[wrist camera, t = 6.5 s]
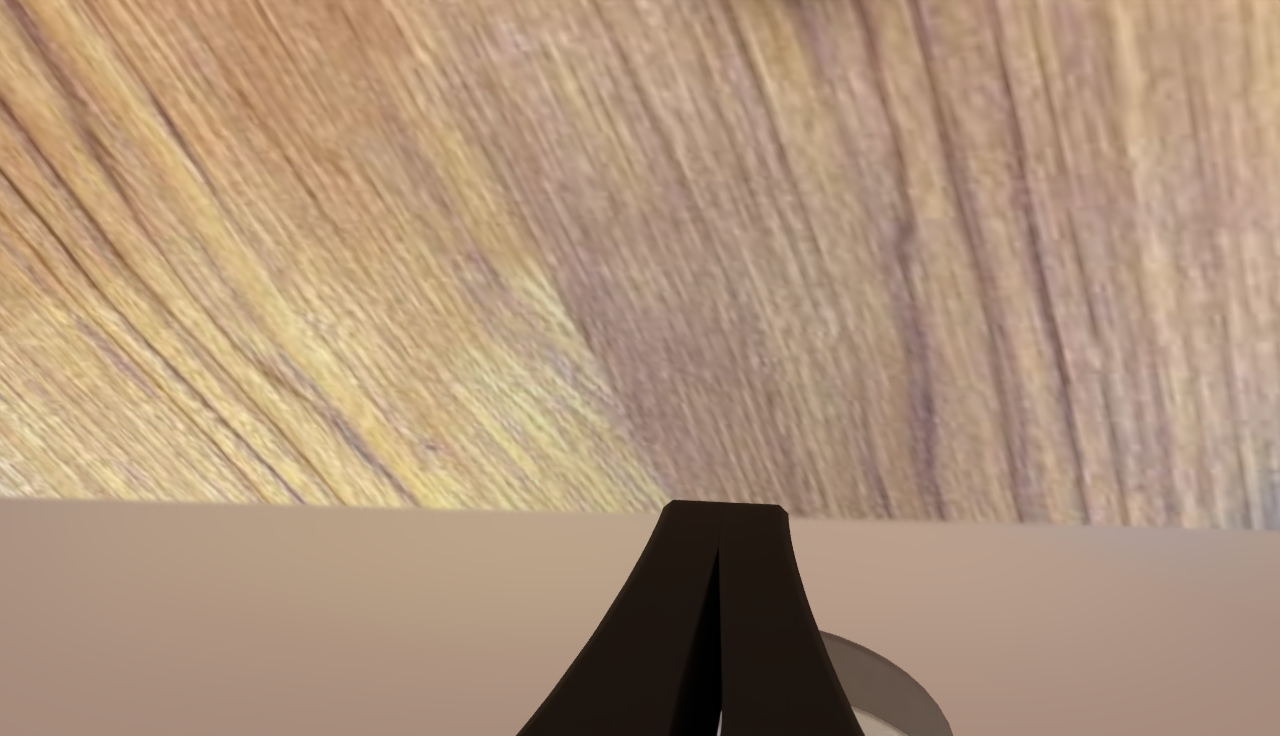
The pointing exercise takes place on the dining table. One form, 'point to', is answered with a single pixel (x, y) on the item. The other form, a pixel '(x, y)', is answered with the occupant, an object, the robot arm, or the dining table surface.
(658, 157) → the dining table surface
